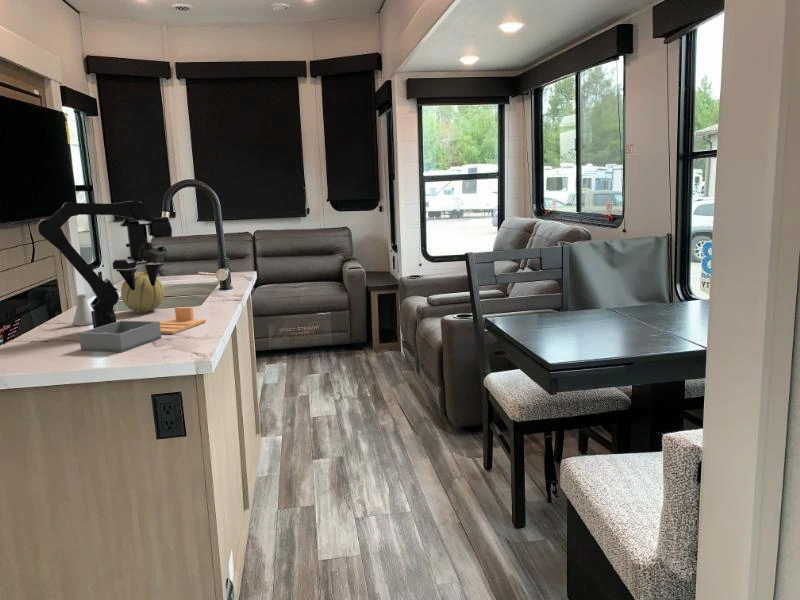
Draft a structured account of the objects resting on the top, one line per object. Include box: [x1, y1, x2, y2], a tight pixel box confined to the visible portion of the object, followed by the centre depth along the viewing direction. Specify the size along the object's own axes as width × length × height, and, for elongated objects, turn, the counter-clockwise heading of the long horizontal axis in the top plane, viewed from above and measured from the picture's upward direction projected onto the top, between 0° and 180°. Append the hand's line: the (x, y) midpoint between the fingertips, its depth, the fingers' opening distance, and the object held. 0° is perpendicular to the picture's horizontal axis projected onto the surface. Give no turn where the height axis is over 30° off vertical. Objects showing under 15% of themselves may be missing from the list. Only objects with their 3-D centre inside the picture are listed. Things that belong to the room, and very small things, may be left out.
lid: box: [158, 306, 207, 335], centre depth 200 cm, size 15×17×5 cm
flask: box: [71, 293, 93, 327], centre depth 212 cm, size 7×7×10 cm
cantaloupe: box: [120, 270, 165, 313], centre depth 229 cm, size 15×15×15 cm
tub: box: [78, 320, 162, 353], centre depth 180 cm, size 14×16×5 cm
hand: (143, 287), depth 206 cm, fingers open, 9 cm apart
